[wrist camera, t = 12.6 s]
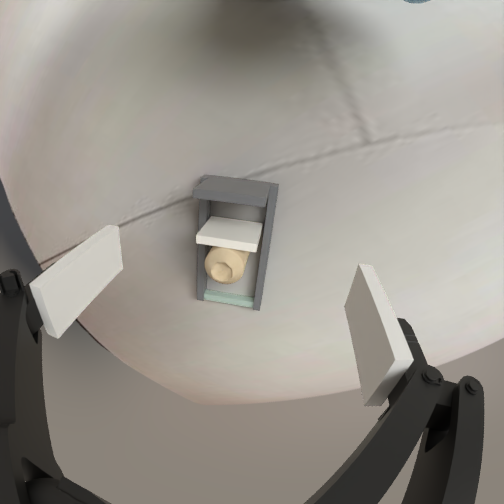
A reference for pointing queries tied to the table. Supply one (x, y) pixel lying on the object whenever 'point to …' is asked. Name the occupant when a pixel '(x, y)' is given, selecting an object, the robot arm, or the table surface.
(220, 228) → the plate
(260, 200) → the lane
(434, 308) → the table surface
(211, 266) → the candle
